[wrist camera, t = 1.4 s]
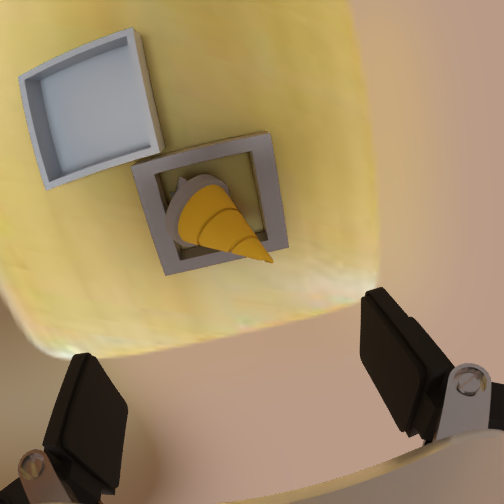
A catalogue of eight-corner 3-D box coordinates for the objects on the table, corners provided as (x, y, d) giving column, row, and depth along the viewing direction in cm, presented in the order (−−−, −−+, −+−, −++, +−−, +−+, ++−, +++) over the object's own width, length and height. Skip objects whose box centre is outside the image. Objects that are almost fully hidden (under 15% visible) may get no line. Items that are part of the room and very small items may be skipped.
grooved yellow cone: (193, 147, 23) (303, 208, 19) (198, 200, 27) (292, 262, 23) (135, 181, 20) (244, 261, 16) (149, 234, 25) (243, 311, 21)
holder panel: (135, 162, 22) (130, 166, 21) (265, 131, 23) (270, 133, 21) (167, 265, 26) (165, 275, 25) (283, 238, 27) (288, 247, 25)
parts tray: (37, 78, 18) (18, 76, 15) (141, 36, 18) (132, 27, 15) (62, 180, 22) (46, 190, 19) (165, 146, 22) (159, 152, 19)
